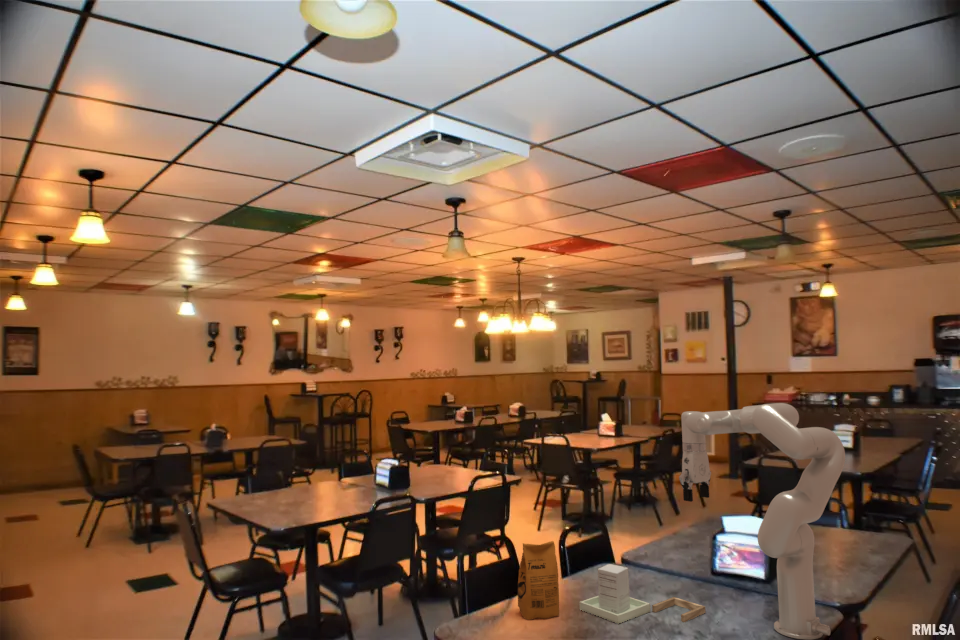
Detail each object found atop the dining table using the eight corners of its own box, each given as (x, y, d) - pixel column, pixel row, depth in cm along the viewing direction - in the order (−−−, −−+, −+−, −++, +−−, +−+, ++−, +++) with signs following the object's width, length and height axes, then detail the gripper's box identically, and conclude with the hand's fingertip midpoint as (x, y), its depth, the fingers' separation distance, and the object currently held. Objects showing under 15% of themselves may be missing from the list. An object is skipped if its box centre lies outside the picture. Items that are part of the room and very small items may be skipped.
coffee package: (515, 610, 204) (514, 539, 206) (552, 606, 207) (550, 537, 209) (523, 621, 195) (521, 548, 197) (562, 618, 197) (560, 545, 199)
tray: (650, 611, 201) (650, 603, 201) (618, 624, 191) (618, 615, 191) (611, 598, 213) (611, 591, 213) (579, 610, 203) (579, 601, 204)
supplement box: (610, 603, 207) (608, 563, 209) (630, 608, 202) (629, 567, 204) (598, 609, 202) (596, 568, 203) (618, 615, 197) (617, 573, 198)
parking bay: (705, 613, 199) (705, 606, 199) (684, 622, 192) (683, 615, 192) (674, 603, 208) (673, 596, 208) (652, 611, 201) (652, 605, 201)
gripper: (689, 451, 209) (691, 504, 207) (718, 446, 220) (720, 497, 218) (669, 449, 215) (671, 500, 213) (698, 445, 225) (701, 494, 224)
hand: (696, 499), depth 216 cm, fingers open, 9 cm apart
